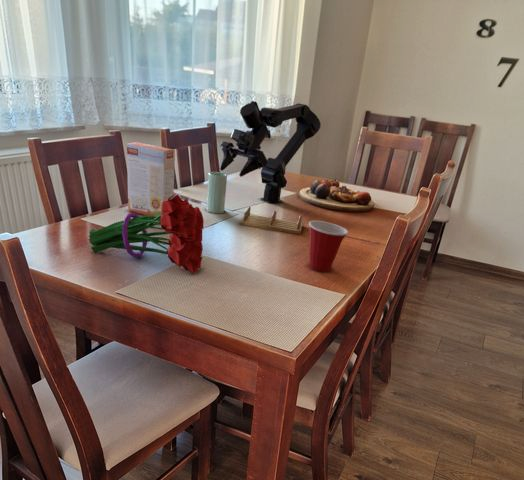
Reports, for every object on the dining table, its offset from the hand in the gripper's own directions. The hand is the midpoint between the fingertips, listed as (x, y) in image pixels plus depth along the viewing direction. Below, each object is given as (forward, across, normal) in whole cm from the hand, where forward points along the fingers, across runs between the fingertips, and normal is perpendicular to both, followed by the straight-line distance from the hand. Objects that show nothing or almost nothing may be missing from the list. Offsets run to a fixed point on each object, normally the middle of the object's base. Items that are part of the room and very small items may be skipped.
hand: (230, 172), depth 167 cm
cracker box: (+30, -7, -12) cm, 33 cm away
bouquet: (+49, +24, -30) cm, 62 cm away
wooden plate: (-28, +14, +46) cm, 56 cm away
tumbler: (+13, 0, +5) cm, 14 cm away
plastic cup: (+22, +54, -4) cm, 58 cm away
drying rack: (+9, +22, +9) cm, 25 cm away
